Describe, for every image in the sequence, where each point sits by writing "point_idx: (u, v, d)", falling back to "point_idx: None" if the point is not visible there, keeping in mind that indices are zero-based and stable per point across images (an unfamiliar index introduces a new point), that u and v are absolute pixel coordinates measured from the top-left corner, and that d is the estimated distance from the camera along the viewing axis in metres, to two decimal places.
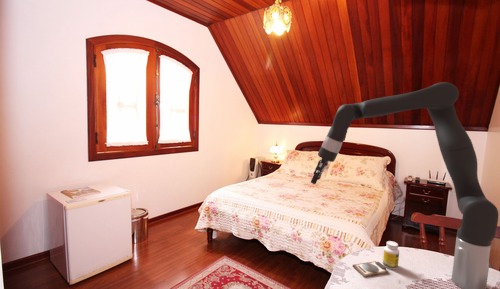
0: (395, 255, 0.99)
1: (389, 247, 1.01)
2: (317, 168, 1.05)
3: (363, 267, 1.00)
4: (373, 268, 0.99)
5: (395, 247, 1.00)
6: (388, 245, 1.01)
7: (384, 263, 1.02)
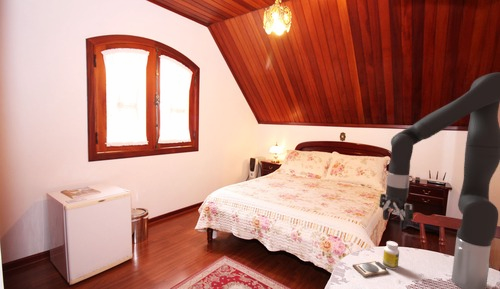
0: (395, 255, 0.99)
1: (389, 247, 1.01)
2: (409, 212, 0.93)
3: (363, 267, 1.00)
4: (373, 268, 0.99)
5: (395, 247, 1.00)
6: (388, 245, 1.01)
7: (384, 263, 1.02)
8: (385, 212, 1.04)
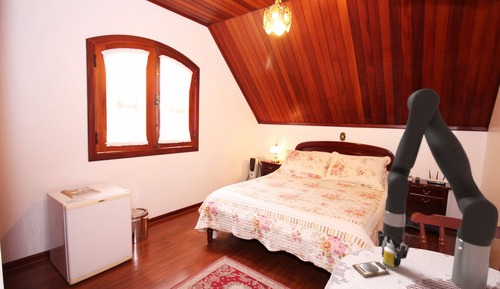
0: None
1: (389, 247, 1.01)
2: (403, 253, 0.95)
3: (363, 267, 1.00)
4: (373, 268, 0.99)
5: None
6: (388, 245, 1.01)
7: (384, 263, 1.02)
8: None
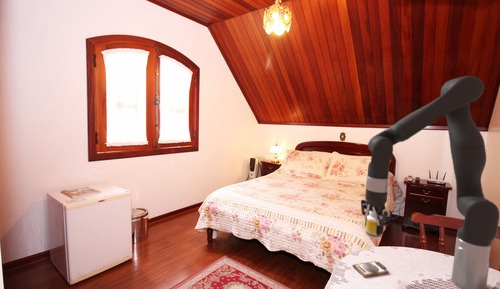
0: None
1: (372, 215, 0.96)
2: (386, 219, 0.91)
3: (363, 267, 1.00)
4: (373, 268, 0.99)
5: (378, 215, 0.95)
6: (371, 213, 0.96)
7: (367, 232, 0.97)
8: None
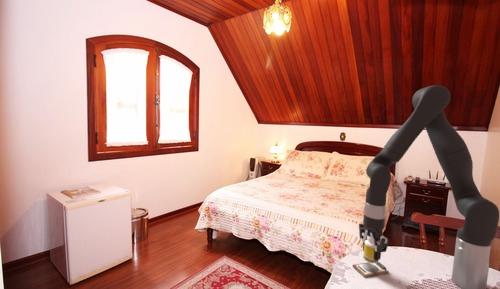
0: None
1: (369, 240, 0.97)
2: (383, 246, 0.92)
3: (363, 267, 1.00)
4: (373, 268, 0.99)
5: None
6: (368, 238, 0.98)
7: (364, 257, 0.99)
8: None
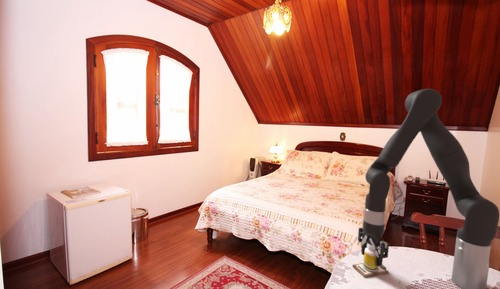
0: (375, 256, 0.96)
1: (369, 248, 0.98)
2: (384, 251, 0.92)
3: (363, 267, 1.00)
4: None
5: None
6: (368, 246, 0.98)
7: (364, 265, 0.99)
8: (363, 247, 1.02)
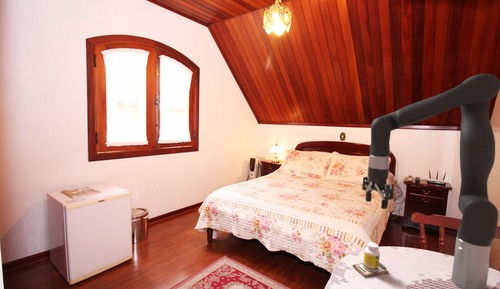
0: (375, 256, 0.96)
1: (369, 248, 0.98)
2: (389, 192, 0.96)
3: (363, 267, 1.00)
4: None
5: (375, 248, 0.97)
6: (368, 246, 0.98)
7: (364, 265, 0.99)
8: (368, 194, 1.07)
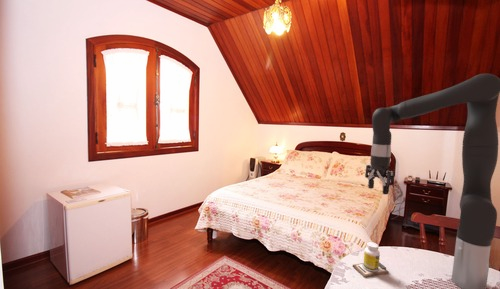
0: (375, 256, 0.96)
1: (369, 248, 0.98)
2: (390, 178, 1.02)
3: (363, 267, 1.00)
4: None
5: (375, 248, 0.97)
6: (368, 246, 0.98)
7: (364, 265, 0.99)
8: (370, 181, 1.13)
